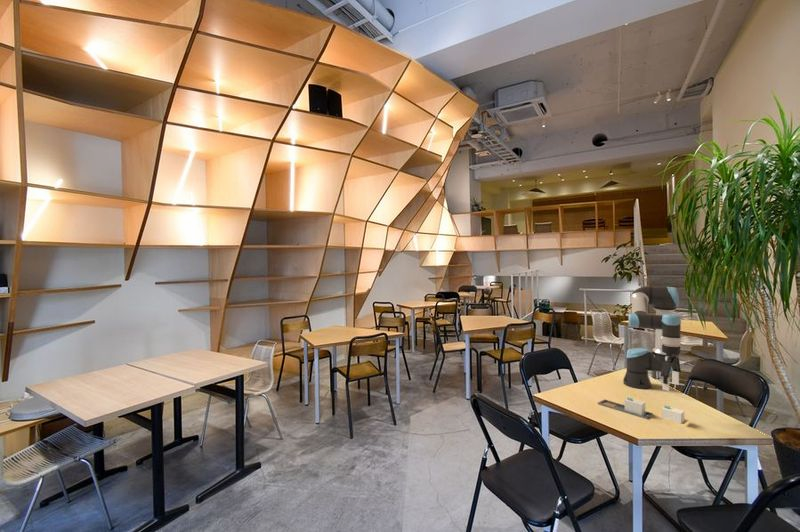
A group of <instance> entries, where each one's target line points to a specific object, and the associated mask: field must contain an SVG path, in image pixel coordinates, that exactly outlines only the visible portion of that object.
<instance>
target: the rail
mask: <svg viewBox="0 0 800 532" xmlns="http://www.w3.org/2000/svg"><path fill="white" fill-rule="evenodd" d="M597 405H599V406H602V407H605V408H609V409H612V410H615V411H619V412H622V413H625V414H629V415H632V416H634V417H638V418H641V419H643V420H644V419H646V420H648V419H650V418H651V417H652V416H654V413H652V412H650V411H646V410H645V414H644V415H643V416H642V415H639V414H635V413H632V412H629V411H625V404H621V403H618V402H615V401H612V400H609V399H608V400H607V399H605V398H604V399H602V400H600V401H598V402H597Z"/></svg>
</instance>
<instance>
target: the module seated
mask: <svg viewBox="0 0 800 532" xmlns="http://www.w3.org/2000/svg"><path fill="white" fill-rule="evenodd" d="M624 405H625V411H629V412H632V413H635V414H639V415H642V416H643V415H644V414H645V411H646V402H645V401H642V400H638V399H634V398H633V397H629V396H628V397H627V398H626V399H625V400H624Z"/></svg>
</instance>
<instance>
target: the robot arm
mask: <svg viewBox="0 0 800 532" xmlns="http://www.w3.org/2000/svg"><path fill="white" fill-rule="evenodd" d="M629 301H630V303H631V309H632V310H631V312H632V313H628V320H627V321H628V326H629V327H631V328H636V329H638V328H640V329H650V330H651V329H653V330H655V341H654V342H655V345H654V346H655V347H654V348H652V350H651V351H649V349H647V348H643V347H636V348H635V347H633V348H629V349H627V351H626V372H625V375H624V377H623V380H622V381H623V382H622V383H623V385H625V386H628V387H630V388H633V389H640V390H641V389H642V390H648V389H651V388H652V382H651V379H650V377H649V372H650V371H652V372H657V373H660V375H659V376H660V377H662V390H663V391H667V392H669V391H670V381H671V384H672V385H677V386H679V385H680V373H681V372H682V370H681V369H682V367H681V363H680V358H679V357H680V356H679V355H680V354H681V349H682V347H681V345H682V344H681V343H682V341H681V339H682V337H681V329H682V328H681V324H682V319H681V316H680V314H676V313H675V314H674V312H675V311H676V310H677V307H680V297H679V292H678V290H677V288H676V287H673V286H657V285H656V286H654V285H651V286H650V285H647V286H646V285H645V286H640V287H638V288H636V289H635V290H634V291H632V293H631V294H630V297H629ZM648 306H652V309H654V310H655V314H649V309H648V308H649V307H648ZM670 374H671V380H670Z"/></svg>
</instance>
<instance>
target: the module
mask: <svg viewBox="0 0 800 532" xmlns="http://www.w3.org/2000/svg"><path fill="white" fill-rule="evenodd" d="M661 418H662V419H664V420H667V421H671V422H675V423H678V424H682V423H683V422H684V421H685V410H681V409H679V408H675V407H671V406H669V405H664V406H663V407H662V408H661Z"/></svg>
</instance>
